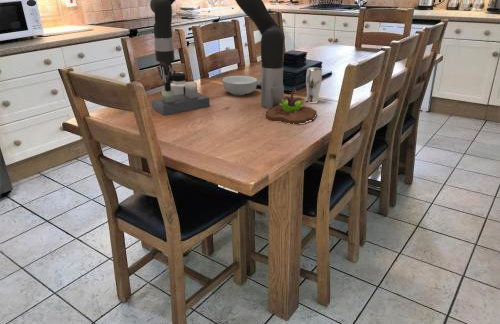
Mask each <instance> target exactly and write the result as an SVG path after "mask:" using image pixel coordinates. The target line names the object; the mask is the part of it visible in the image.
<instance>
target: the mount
mask: <svg viewBox="0 0 500 324" xmlns="http://www.w3.org/2000/svg"><path fill="white" fill-rule="evenodd" d="M150 102H151V109H152V110H154V111H155V112H157V113H159V114H160V115H163V116H168V115H173V114H178V113H183V112H187V111H188V112H189V111H193V110H198V109H199V110H200V109H203V108H208V107H210V106H211V104H210V102H211V101H210V97H209V96H207V95H204V94H202V93H200V92H198V97H196V98H190V99H189V98H187V97H186V95H185V94H180V95H175V101H174V102H168V103H165V102H163V100H162V97H157V98H152V99H150Z"/></svg>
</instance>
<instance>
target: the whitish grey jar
mask: <svg viewBox="0 0 500 324" xmlns="http://www.w3.org/2000/svg"><path fill="white" fill-rule="evenodd" d="M185 82H186V83H185V95H186V97H187V98H189V99H190V98H196V97H198V93H199V92H198V90H199V89H198V83H197V81H185Z"/></svg>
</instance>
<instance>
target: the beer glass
mask: <svg viewBox="0 0 500 324" xmlns="http://www.w3.org/2000/svg"><path fill="white" fill-rule="evenodd" d="M322 76H323V68H321V67H314V66H313V67H308V68H306V75H305V85H306V99H305V102H306V101H309V102H316V101H319V102H320V98H319V96H320V95H319V93H320V89H321V85H322V80H323V77H322Z"/></svg>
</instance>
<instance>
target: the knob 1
mask: <svg viewBox="0 0 500 324" xmlns="http://www.w3.org/2000/svg"><path fill="white" fill-rule="evenodd" d="M161 98H162V100H163V102H165V103H168V102H174V101H175V94H174V90H172V89H171V91H165V89H162V90H161Z"/></svg>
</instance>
